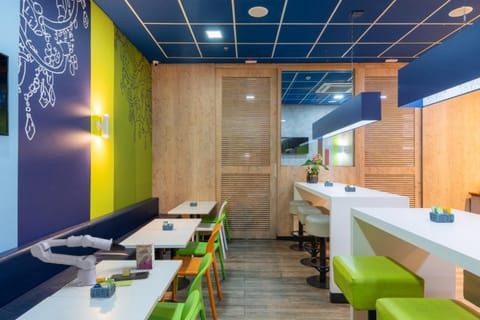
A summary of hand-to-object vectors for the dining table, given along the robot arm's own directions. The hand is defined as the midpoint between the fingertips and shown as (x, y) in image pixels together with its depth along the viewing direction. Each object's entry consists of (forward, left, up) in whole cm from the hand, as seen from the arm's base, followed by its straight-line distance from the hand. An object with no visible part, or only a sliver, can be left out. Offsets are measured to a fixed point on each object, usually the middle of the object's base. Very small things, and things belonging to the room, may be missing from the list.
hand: (124, 248), depth 184 cm
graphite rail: (+2, +2, -19) cm, 19 cm away
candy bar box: (+9, +18, -19) cm, 28 cm away
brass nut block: (0, +2, -19) cm, 19 cm away
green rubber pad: (0, -7, -19) cm, 20 cm away
